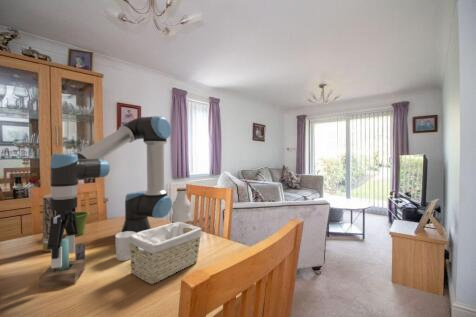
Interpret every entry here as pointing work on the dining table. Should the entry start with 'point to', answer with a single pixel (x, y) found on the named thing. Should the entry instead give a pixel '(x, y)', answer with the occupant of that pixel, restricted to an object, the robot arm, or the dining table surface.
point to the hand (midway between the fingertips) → (63, 259)
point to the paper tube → (47, 221)
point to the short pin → (80, 251)
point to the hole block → (62, 275)
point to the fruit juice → (181, 208)
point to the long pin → (65, 255)
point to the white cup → (123, 245)
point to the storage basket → (163, 250)
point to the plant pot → (81, 222)
